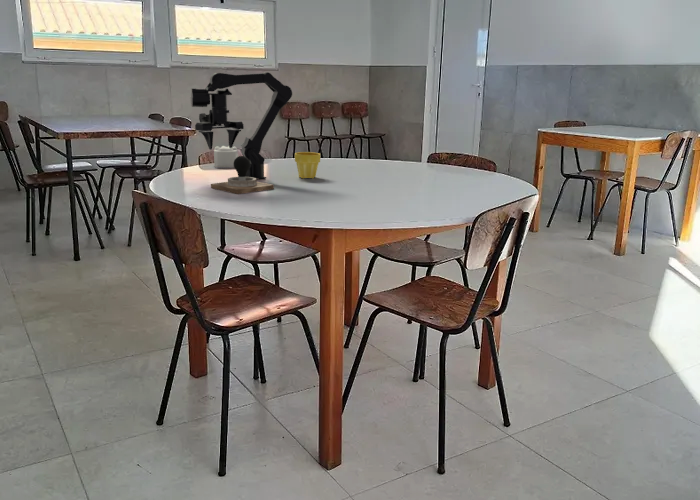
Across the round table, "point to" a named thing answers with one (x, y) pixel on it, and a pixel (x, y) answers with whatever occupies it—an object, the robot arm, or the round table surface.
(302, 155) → the plant pot
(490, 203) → the round table surface
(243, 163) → the light bulb
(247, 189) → the socket base
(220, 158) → the lumpy-topped squat cylinder
